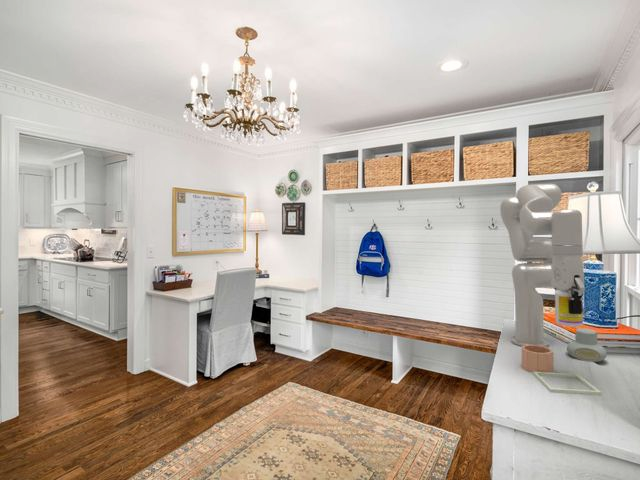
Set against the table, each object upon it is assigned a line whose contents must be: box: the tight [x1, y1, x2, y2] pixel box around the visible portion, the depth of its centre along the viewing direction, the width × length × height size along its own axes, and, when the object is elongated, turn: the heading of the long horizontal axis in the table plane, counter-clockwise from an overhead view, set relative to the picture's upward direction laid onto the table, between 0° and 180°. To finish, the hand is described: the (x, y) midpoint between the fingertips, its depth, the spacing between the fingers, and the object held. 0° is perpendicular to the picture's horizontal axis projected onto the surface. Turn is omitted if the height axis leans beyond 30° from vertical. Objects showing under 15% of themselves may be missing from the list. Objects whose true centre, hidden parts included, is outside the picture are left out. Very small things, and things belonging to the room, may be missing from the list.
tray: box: [532, 372, 602, 396], centre depth 98 cm, size 12×12×2 cm
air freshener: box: [566, 327, 608, 363], centre depth 118 cm, size 11×8×10 cm
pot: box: [521, 345, 555, 373], centre depth 110 cm, size 8×9×7 cm
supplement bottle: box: [554, 288, 584, 328], centre depth 104 cm, size 7×7×13 cm
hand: (568, 310), depth 104 cm, fingers closed on supplement bottle, 6 cm apart
